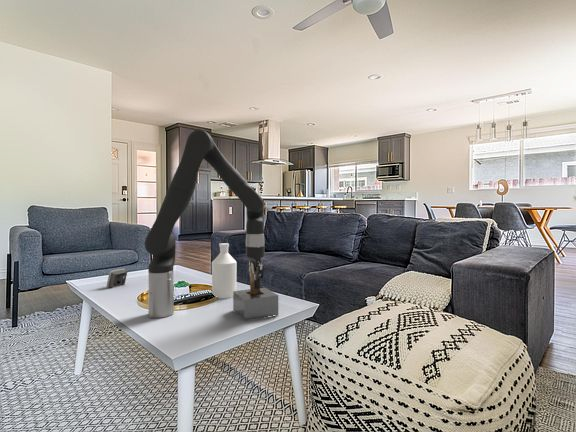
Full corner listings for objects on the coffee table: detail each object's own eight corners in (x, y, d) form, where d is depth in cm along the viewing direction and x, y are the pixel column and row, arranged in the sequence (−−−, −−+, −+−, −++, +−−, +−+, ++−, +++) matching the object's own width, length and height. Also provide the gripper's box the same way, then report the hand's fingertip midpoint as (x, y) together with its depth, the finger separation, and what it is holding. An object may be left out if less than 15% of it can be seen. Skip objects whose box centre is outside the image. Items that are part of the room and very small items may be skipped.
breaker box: (244, 321, 121) (244, 299, 121) (233, 310, 134) (233, 291, 133) (278, 315, 127) (278, 295, 127) (264, 306, 140) (264, 287, 140)
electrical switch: (120, 284, 181) (121, 267, 181) (127, 285, 179) (128, 269, 179) (105, 287, 172) (106, 270, 172) (113, 289, 171) (114, 272, 170)
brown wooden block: (252, 297, 128) (252, 267, 127) (248, 295, 131) (248, 265, 131) (261, 296, 129) (261, 266, 129) (258, 293, 133) (258, 264, 133)
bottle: (238, 292, 163) (237, 242, 163) (235, 298, 152) (234, 245, 151) (214, 292, 163) (214, 242, 163) (209, 298, 151) (209, 245, 151)
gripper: (240, 243, 135) (240, 285, 135) (252, 247, 122) (252, 292, 122) (257, 242, 138) (257, 283, 138) (270, 246, 125) (270, 290, 126)
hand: (255, 287), depth 130 cm, fingers closed on brown wooden block, 4 cm apart
